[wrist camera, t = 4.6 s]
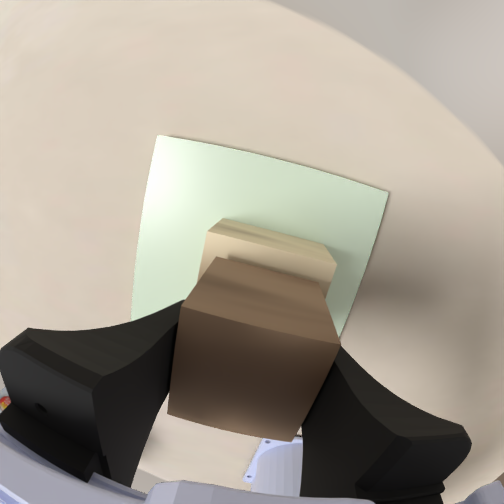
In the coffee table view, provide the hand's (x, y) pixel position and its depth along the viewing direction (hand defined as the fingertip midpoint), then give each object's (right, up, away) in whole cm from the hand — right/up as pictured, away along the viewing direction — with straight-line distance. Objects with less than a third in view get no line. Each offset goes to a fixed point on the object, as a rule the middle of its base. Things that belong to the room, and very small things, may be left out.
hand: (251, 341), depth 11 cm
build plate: (-1, +1, +8) cm, 8 cm away
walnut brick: (0, 0, +2) cm, 2 cm away
